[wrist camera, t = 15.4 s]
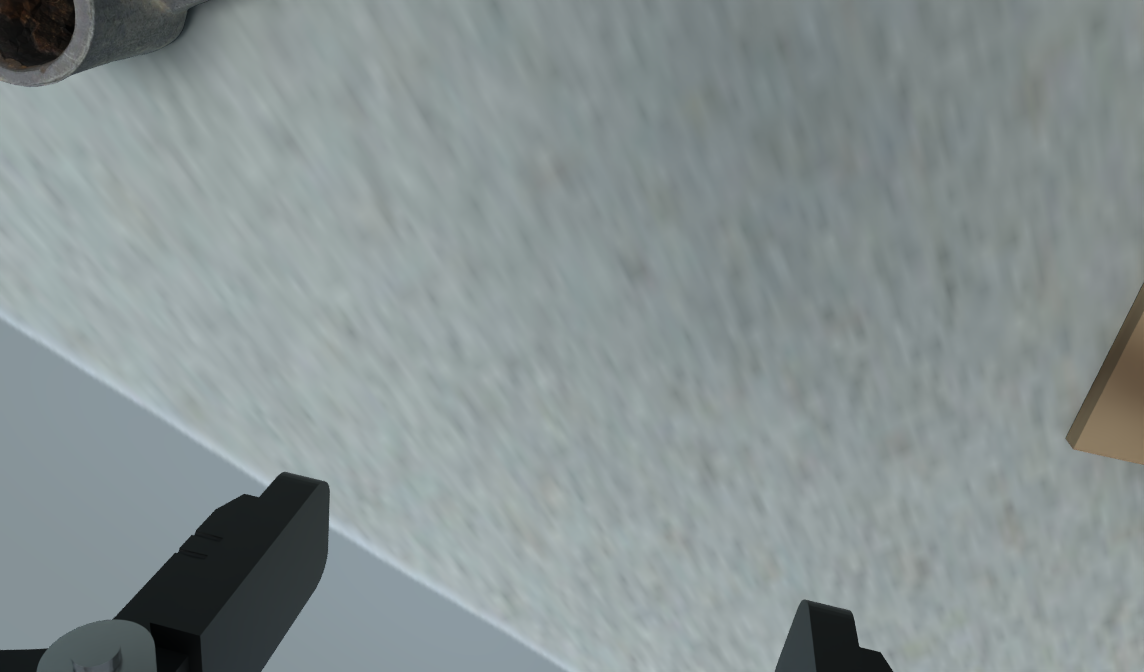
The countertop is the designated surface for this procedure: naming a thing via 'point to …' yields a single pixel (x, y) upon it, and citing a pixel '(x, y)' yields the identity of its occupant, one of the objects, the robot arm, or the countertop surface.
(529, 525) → the countertop surface
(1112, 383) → the wooden tray with rails
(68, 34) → the pipe
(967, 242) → the countertop surface
